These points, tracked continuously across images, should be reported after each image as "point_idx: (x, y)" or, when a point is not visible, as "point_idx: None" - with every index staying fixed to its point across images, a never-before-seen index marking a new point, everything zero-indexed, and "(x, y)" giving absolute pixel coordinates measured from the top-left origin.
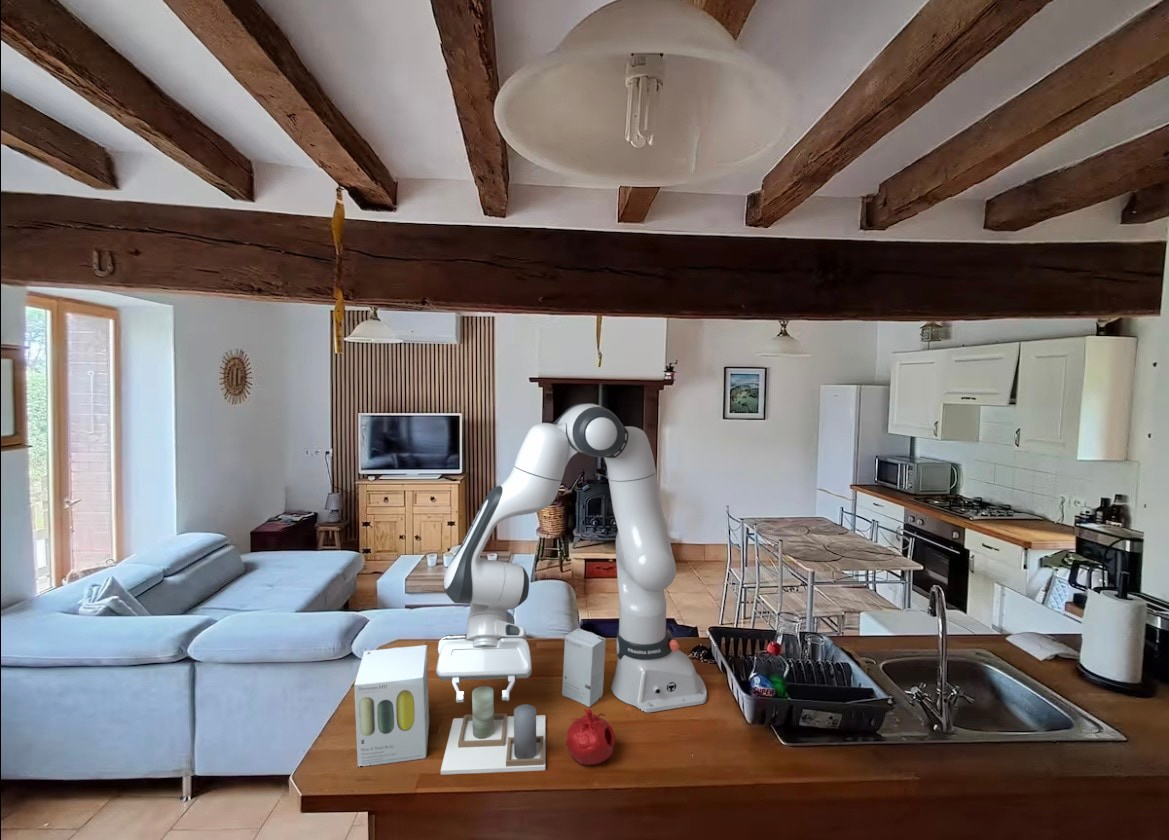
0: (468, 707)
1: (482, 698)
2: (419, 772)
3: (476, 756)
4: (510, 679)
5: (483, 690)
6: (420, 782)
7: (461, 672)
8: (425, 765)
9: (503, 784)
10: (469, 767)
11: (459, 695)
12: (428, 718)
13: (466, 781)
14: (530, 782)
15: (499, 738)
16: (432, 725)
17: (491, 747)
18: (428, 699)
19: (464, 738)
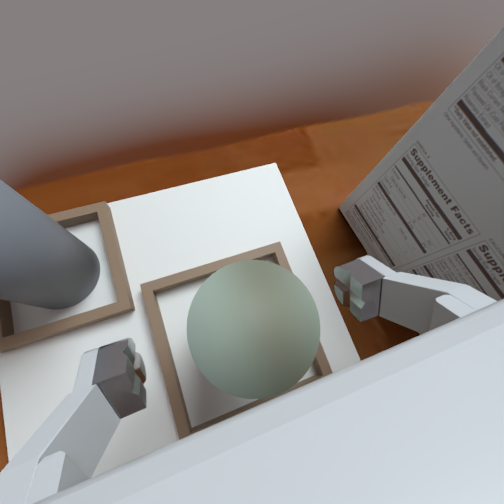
0: None
1: (229, 265)
2: (323, 166)
3: (209, 225)
4: (37, 471)
5: (258, 342)
6: (303, 142)
7: (488, 327)
8: (324, 187)
9: (107, 169)
10: (210, 186)
11: (367, 267)
12: None
13: (203, 162)
14: (32, 188)
15: (170, 317)
16: (406, 334)
17: (181, 271)
18: None
19: None
